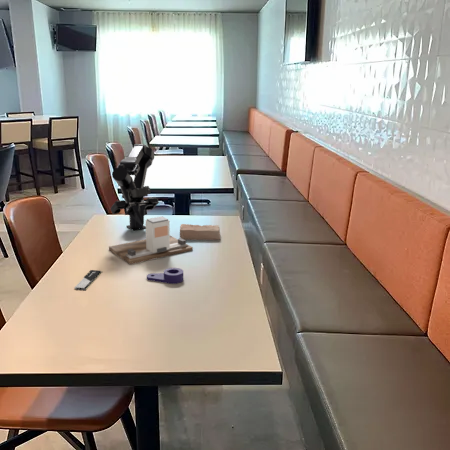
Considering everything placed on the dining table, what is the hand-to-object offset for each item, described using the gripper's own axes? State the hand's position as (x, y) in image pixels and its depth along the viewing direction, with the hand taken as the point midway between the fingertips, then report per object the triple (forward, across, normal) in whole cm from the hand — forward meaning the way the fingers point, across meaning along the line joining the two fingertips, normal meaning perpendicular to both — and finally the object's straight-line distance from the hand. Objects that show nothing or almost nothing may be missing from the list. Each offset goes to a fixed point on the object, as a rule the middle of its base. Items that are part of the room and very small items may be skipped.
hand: (142, 224), depth 182 cm
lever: (+29, -12, -18) cm, 36 cm away
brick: (+9, +24, +1) cm, 26 cm away
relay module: (+13, -1, -5) cm, 14 cm away
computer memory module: (+20, -31, -6) cm, 38 cm away
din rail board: (+11, 0, +1) cm, 11 cm away
